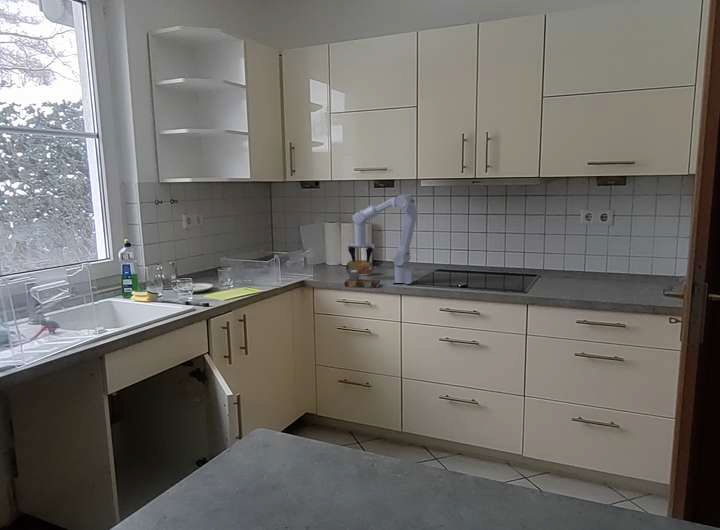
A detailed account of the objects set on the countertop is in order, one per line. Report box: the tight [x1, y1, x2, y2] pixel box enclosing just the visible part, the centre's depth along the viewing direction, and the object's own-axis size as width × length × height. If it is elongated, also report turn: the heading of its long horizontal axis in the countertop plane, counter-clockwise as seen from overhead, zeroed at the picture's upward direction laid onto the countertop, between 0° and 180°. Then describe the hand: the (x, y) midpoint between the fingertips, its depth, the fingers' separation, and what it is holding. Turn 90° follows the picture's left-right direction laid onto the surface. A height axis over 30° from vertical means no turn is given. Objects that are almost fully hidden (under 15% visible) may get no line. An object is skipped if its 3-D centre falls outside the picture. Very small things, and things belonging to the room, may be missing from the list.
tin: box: [345, 259, 374, 276], centre depth 284 cm, size 15×3×8 cm, turn 76°
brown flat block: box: [344, 278, 380, 289], centre depth 257 cm, size 16×7×3 cm, turn 73°
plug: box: [349, 270, 360, 282], centre depth 258 cm, size 4×4×8 cm
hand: (360, 261), depth 268 cm, fingers open, 7 cm apart
